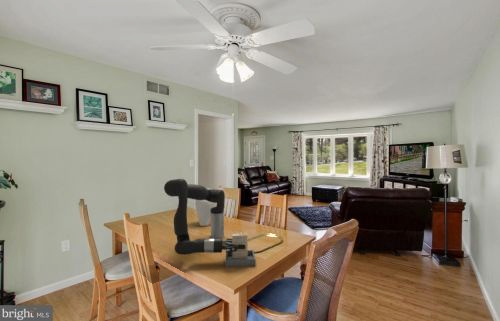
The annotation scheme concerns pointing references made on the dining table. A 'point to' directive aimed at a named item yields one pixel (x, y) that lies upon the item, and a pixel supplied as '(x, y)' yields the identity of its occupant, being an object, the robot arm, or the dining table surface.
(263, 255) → the dining table surface
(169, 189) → the robot arm
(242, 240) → the supplement box
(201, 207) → the vase
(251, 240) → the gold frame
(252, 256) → the organiser tray
